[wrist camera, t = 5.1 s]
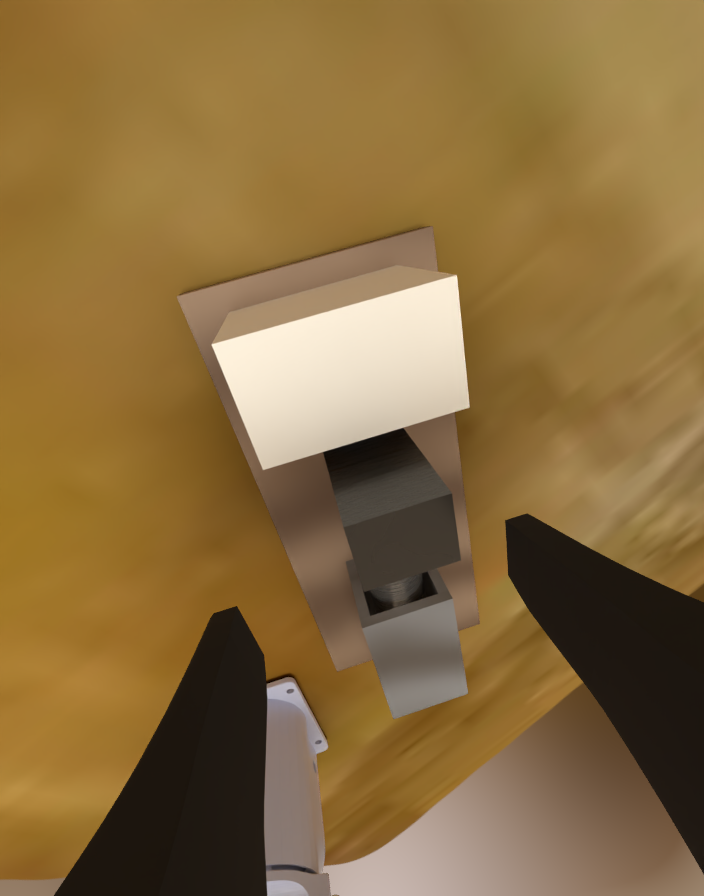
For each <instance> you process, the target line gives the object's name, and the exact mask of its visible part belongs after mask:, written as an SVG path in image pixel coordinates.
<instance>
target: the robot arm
mask: <svg viewBox="0 0 704 896" xmlns="http://www.w3.org/2000/svg"><path fill="white" fill-rule="evenodd" d="M505 523H506V541H507V559H508V575H509V577H510V579H511V581H512V582H513V584H514V586H515V588H516V589H517V591H518V593H519V595H520V596H521V598H522V599H523V601H524V603H525V604H526V606H527V608H528V609H529V611H530V612H531V614H532V615H533V616H534V618H535V619H536V620H537V622H538V623H539V624H540V626H541V627H542V628H543V630H544V631H545V632H546V634H547V635H548V636H549V638H550V639H551V640H552V642H553V643H554V644H555V646H556V647H557V648H558V649H559V651H560V652H561V653H562V655H563V656H564V657H565V659H566V660H567V661H568V663H569V664H570V665H571V667H572V668H573V669H574V670H575V672H576V673H577V674H578V676H579V677H580V678H581V680H582V681H583V682H584V684H585V685H586V686H587V688H588V689H589V690H590V692H591V693H592V694H593V696H594V697H595V699H596V700H597V701H598V703H599V704H600V706H601V707H602V708H603V710H604V711H605V713H606V714H607V716H608V717H609V719H610V721H611V722H612V724H613V725H614V727H615V728H616V730H617V731H618V733H619V735H620V736H621V738H622V739H623V741H624V742H625V744H626V746H627V747H628V749H629V750H630V752H631V754H632V755H633V756H634V758H635V760H636V761H637V763H638V765H639V766H640V768H641V770H642V771H643V773H644V775H645V776H646V778H647V779H648V781H649V783H650V784H651V786H652V788H653V789H654V791H655V792H656V794H657V796H658V797H659V799H660V801H661V802H662V804H663V805H664V807H665V809H666V811H667V812H668V814H669V816H670V817H671V819H672V821H673V822H674V824H675V826H676V828H677V829H678V831H679V833H680V834H681V836H682V838H683V839H684V841H685V843H686V844H687V846H688V848H689V849H690V851H691V853H692V855H693V856H694V858H695V860H696V861H697V863H698V865H699V867H700V868H701V870H702V872H703V873H704V602H701V601H699V600H697V599H694V598H692V597H689V596H687V595H685V594H682V593H680V592H678V591H675V590H673V589H671V588H669V587H667V586H664V585H662V584H660V583H658V582H656V581H654V580H652V579H650V578H647V577H645V576H643V575H641V574H639V573H637V572H635V571H633V570H631V569H629V568H627V567H625V566H623V565H621V564H619V563H617V562H615V561H613V560H611V559H609V558H607V557H605V556H603V555H601V554H600V553H598V552H596V551H594V550H592V549H590V548H588V547H586V546H585V545H583V544H581V543H579V542H577V541H576V540H574V539H572V538H570V537H568V536H567V535H565V534H563V533H561V532H559V531H558V530H556V529H554V528H552V527H551V526H549V525H547V524H545V523H543V522H542V521H540V520H538V519H536V518H535V517H533V516H531V515H529V514H524V515H521V516H518V517H514V518H511V519H508V520H505ZM327 748H328V742H327V740H326V738H325V736H324V734H323V732H322V730H321V728H320V726H319V725H318V723H317V721H316V719H315V717H314V715H313V713H312V711H311V709H310V707H309V706H308V704H307V702H306V700H305V698H304V696H303V694H302V692H301V690H300V688H299V687H298V685H297V683H296V681H295V679H294V678H292V677H286V678H283V679H280V680H277V681H274V682H271V683H268V684H266V672H265V661H264V654H263V653H262V651H261V649H260V647H259V645H258V644H257V642H256V640H255V638H254V636H253V634H252V633H251V631H250V629H249V627H248V625H247V624H246V622H245V620H244V618H243V616H242V615H241V613H240V611H239V609H238V607H237V606H236V607H232V608H229V609H226V610H223V611H220V612H217V613H214V614H213V615H212V617H211V618H210V620H209V623H208V625H207V627H206V629H205V631H204V633H203V636H202V638H201V640H200V642H199V644H198V647H197V649H196V651H195V653H194V655H193V657H192V659H191V662H190V664H189V666H188V668H187V670H186V672H185V674H184V676H183V678H182V680H181V682H180V684H179V686H178V689H177V691H176V693H175V695H174V697H173V699H172V701H171V703H170V705H169V707H168V709H167V711H166V713H165V715H164V716H163V718H162V720H161V722H160V724H159V726H158V728H157V729H156V731H155V733H154V735H153V737H152V739H151V741H150V742H149V744H148V746H147V748H146V750H145V752H144V754H143V755H142V757H141V759H140V761H139V763H138V764H137V766H136V768H135V769H134V771H133V773H132V775H131V776H130V778H129V780H128V782H127V783H126V785H125V787H124V788H123V790H122V792H121V793H120V795H119V797H118V798H117V800H116V801H115V803H114V805H113V806H112V808H111V810H110V811H109V813H108V814H107V816H106V818H105V819H104V821H103V822H102V824H101V826H100V827H99V829H98V830H97V832H96V833H95V835H94V836H93V838H92V839H91V841H90V842H89V844H88V845H87V847H86V848H85V850H84V851H83V853H82V855H81V856H80V858H79V859H78V861H77V862H76V864H75V865H74V867H73V868H72V870H71V871H70V873H69V874H68V875H67V877H66V878H65V880H64V881H63V883H62V884H61V886H60V887H59V889H58V890H57V892H56V893H55V895H54V896H331V893H330V884H329V874H328V873H323V874H322V871H323V866H324V860H325V838H324V828H323V818H322V807H321V797H320V787H319V777H318V766H317V756H316V754H318V753H320V752H323V751H325V750H327ZM333 896H339V895H333Z"/></svg>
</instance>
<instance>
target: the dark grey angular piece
mask: <svg viewBox="0 0 704 896" xmlns="http://www.w3.org/2000/svg"><path fill="white" fill-rule="evenodd" d="M323 454H324V458H325V461H326V465H327V469H328V472H329V476H330V480H331V484H332V487H333V491H334V495H335V498H336V502H337V506H338V509H339V513H340V517H341V520H342V524H343V528H344V531H345V534H346V537H347V540H348V543H349V547H350V550H351V553H352V556H353V559H354V562H355V565H356V568H357V572H358V575H359V578H360V581H361V584H362V587H363V590H364V592H366V591H370V594H371V598H372V601H373V604H374V607H375V611H376V614H378V613H381V612H384V611H387V610H390V609H393V608H397V607H400V606H403V605H406V604H409V603H412V602H415V601H418V600H421V599H424V598H427V597H426V592H425V587H424V582H423V578H422V573H424V572H427V571H430V570H433V569H436V568H439V567H443V566H446V565H449V564H452V563H455V562H458V561H461V555H460V548H459V541H458V533H457V526H456V519H455V512H454V504H453V497H452V493H451V491H450V490H449V489H448V487H447V486H446V484H445V483H444V482H443V480H442V479H441V478H440V476H439V475H438V474H437V472H436V471H435V470H434V468H433V467H432V466H431V464H430V463H429V462H428V460H427V459H426V458H425V456H424V455H423V453H422V452H421V451H420V449H419V448H418V447H417V445H416V444H415V443H414V441H413V440H412V439H411V437H410V436H409V435H408V433H407V432H406V431H405V429H404V428H400V429H397V430H394V431H390V432H387V433H384V434H381V435H377V436H374V437H371V438H367V439H364V440H361V441H357V442H354V443H351V444H348V445H344V446H341V447H338V448H334V449H331V450H328V451H324V452H323Z"/></svg>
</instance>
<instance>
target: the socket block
mask: <svg viewBox="0 0 704 896" xmlns="http://www.w3.org/2000/svg"><path fill="white" fill-rule="evenodd" d="M212 347H213V349H214V352H215V354H216V357H217V359H218V362H219V364H220V366H221V369H222V371H223V374H224V376H225V379H226V381H227V383H228V386H229V388H230V391H231V393H232V396H233V398H234V401H235V403H236V405H237V408H238V410H239V413H240V415H241V418H242V420H243V422H244V425H245V427H246V430H247V432H248V435H249V437H250V439H251V442H252V444H253V447H254V449H255V452H256V454H257V457H258V459H259V461H260V464H261V466H262V469H263V470H265V469H268V468H272V467H275V466H278V465H282V464H285V463H288V462H292V461H295V460H298V459H301V458H305V457H308V456H311V455H315V454H318V453H321V452H324V451H328V450H331V449H334V448H338V447H341V446H344V445H348V444H351V443H354V442H357V441H361V440H364V439H367V438H371V437H374V436H377V435H381V434H384V433H387V432H390V431H394V430H397V429H400V428H404V427H407V426H410V425H413V424H417V423H420V422H423V421H427V420H430V419H433V418H437V417H440V416H443V415H446V414H450V413H453V412H456V411H460V410H463V409H466V408H470V405H469V395H468V384H467V374H466V364H465V354H464V344H463V333H462V323H461V313H460V303H459V292H458V282H457V275H454V274H448V273H442V272H436V271H430V270H424V269H418V268H412V267H406V266H400V265H396V266H392V267H389V268H385V269H382V270H378V271H375V272H371V273H367V274H364V275H360V276H357V277H353V278H349V279H346V280H342V281H339V282H335V283H332V284H328V285H324V286H321V287H317V288H314V289H310V290H307V291H303V292H299V293H296V294H292V295H289V296H285V297H281V298H278V299H274V300H271V301H267V302H264V303H260V304H256V305H253V306H249V307H246V308H242V309H239V310H235V311H231V312H229V313H228V315H227V317H226V319H225V321H224V322H223V324H222V326H221V328H220V330H219V332H218V333H217V335H216V337H215V339H214V341H213V343H212Z"/></svg>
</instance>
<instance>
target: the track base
mask: <svg viewBox="0 0 704 896" xmlns="http://www.w3.org/2000/svg"><path fill="white" fill-rule="evenodd" d="M396 265H400V266H406V267H412V268H418V269H424V270H430V271H436V272H438V268H437V259H436V251H435V242H434V234H433V226H429V227H422V228H418V229H415V230H411V231H408V232H404V233H400V234H397V235H393V236H389V237H386V238H382V239H378V240H375V241H371V242H367V243H364V244H360V245H357V246H353V247H349V248H346V249H342V250H338V251H335V252H331V253H327V254H324V255H320V256H317V257H313V258H309V259H306V260H302V261H298V262H295V263H291V264H287V265H284V266H280V267H277V268H273V269H269V270H266V271H262V272H258V273H255V274H251V275H247V276H244V277H240V278H237V279H233V280H229V281H226V282H222V283H218V284H215V285H211V286H207V287H204V288H200V289H197V290H193V291H189V292H186V293H182V294H180V295H178V296H177V299H178V301H179V303H180V306H181V308H182V310H183V313H184V315H185V317H186V320H187V322H188V324H189V327H190V329H191V331H192V334H193V336H194V338H195V341H196V343H197V345H198V348H199V350H200V352H201V355H202V357H203V359H204V362H205V364H206V366H207V369H208V371H209V373H210V376H211V378H212V380H213V383H214V385H215V387H216V390H217V392H218V394H219V397H220V399H221V401H222V404H223V406H224V408H225V411H226V413H227V415H228V418H229V420H230V422H231V425H232V427H233V429H234V432H235V434H236V436H237V439H238V441H239V443H240V446H241V448H242V450H243V453H244V455H245V457H246V460H247V462H248V464H249V467H250V469H251V471H252V474H253V476H254V478H255V481H256V483H257V485H258V488H259V490H260V492H261V495H262V497H263V499H264V502H265V504H266V506H267V509H268V511H269V513H270V516H271V518H272V520H273V523H274V525H275V527H276V530H277V532H278V534H279V537H280V539H281V541H282V544H283V546H284V548H285V551H286V553H287V555H288V558H289V560H290V562H291V565H292V567H293V569H294V572H295V574H296V576H297V579H298V581H299V583H300V586H301V588H302V590H303V593H304V595H305V597H306V600H307V602H308V604H309V607H310V609H311V611H312V614H313V616H314V618H315V621H316V623H317V625H318V628H319V630H320V632H321V635H322V637H323V639H324V642H325V644H326V646H327V649H328V651H329V653H330V656H331V658H332V660H333V663H334V665H335V667H336V670H337V672H338V671H341V670H343V669H346V668H349V667H352V666H355V665H358V664H361V663H364V662H367V661H370V660H373V661H374V664H375V667H376V670H377V673H378V676H379V679H380V682H381V684H382V687H383V690H384V693H385V696H386V699H387V702H388V705H389V708H390V710H391V713H392V716H393V719H396V718H399V717H402V716H405V715H407V714H410V713H413V712H416V711H419V710H422V709H425V708H428V707H431V706H434V705H436V704H439V703H442V702H445V701H448V700H451V699H454V698H457V697H460V696H462V695H465V694H468V689H467V683H466V677H465V671H464V665H463V658H462V652H461V646H460V640H459V634H458V631H460V630H463V629H466V628H469V627H472V626H474V625H477V624H480V621H479V613H478V605H477V596H476V588H475V579H474V571H473V562H472V554H471V546H470V537H469V529H468V520H467V512H466V503H465V495H464V487H463V478H462V470H461V461H460V453H459V445H458V436H457V428H456V419H455V412H453V413H450V414H446V415H443V416H440V417H437V418H433V419H430V420H427V421H423V422H420V423H417V424H413V425H410V426H407V427H404V429H405V431H406V432H407V433H408V435H409V436H410V437H411V439H412V440H413V441H414V443H415V444H416V445H417V447H418V448H419V449H420V451H421V452H422V453H423V455H424V456H425V458H426V459H427V460H428V462H429V463H430V464H431V466H432V467H433V468H434V470H435V471H436V472H437V474H438V475H439V476H440V478H441V479H442V480H443V482H444V483H445V484H446V486H447V487H448V489H449V490H450V491H451V493H452V497H453V504H454V512H455V519H456V526H457V533H458V541H459V548H460V555H461V561H458V562H455V563H452V564H449V565H446V566H443V567H439V568H436V569H433V570H430V571H427V572H424V573H422V578H423V582H424V587H425V592H426V597H427V598H424V599H421V600H418V601H415V602H412V603H409V604H406V605H403V606H400V607H397V608H393V609H390V610H387V611H384V612H381V613H378V614H376V611H375V607H374V604H373V601H372V598H371V594H370V591H366V592H364V590H363V587H362V584H361V581H360V578H359V575H358V572H357V568H356V565H355V562H354V559H353V556H352V553H351V550H350V547H349V543H348V540H347V537H346V534H345V531H344V528H343V524H342V520H341V517H340V513H339V509H338V506H337V502H336V498H335V495H334V491H333V487H332V484H331V480H330V476H329V472H328V469H327V465H326V461H325V458H324V454H323V452H321V453H318V454H315V455H311V456H308V457H305V458H301V459H298V460H295V461H292V462H288V463H285V464H282V465H278V466H275V467H272V468H268V469H265V470H263V469H262V466H261V464H260V461H259V459H258V457H257V454H256V452H255V449H254V447H253V444H252V442H251V439H250V437H249V435H248V432H247V430H246V427H245V425H244V422H243V420H242V418H241V415H240V413H239V410H238V408H237V405H236V403H235V401H234V398H233V396H232V393H231V391H230V388H229V386H228V383H227V381H226V379H225V376H224V374H223V371H222V369H221V366H220V364H219V362H218V359H217V357H216V354H215V352H214V349H213V347H212V343H213V341H214V339H215V337H216V335H217V333H218V332H219V330H220V328H221V326H222V324H223V322H224V321H225V319H226V317H227V315H228V313H229V312H231V311H235V310H239V309H242V308H246V307H249V306H253V305H256V304H260V303H264V302H267V301H271V300H274V299H278V298H281V297H285V296H289V295H292V294H296V293H299V292H303V291H307V290H310V289H314V288H317V287H321V286H324V285H328V284H332V283H335V282H339V281H342V280H346V279H349V278H353V277H357V276H360V275H364V274H367V273H371V272H375V271H378V270H382V269H385V268H389V267H392V266H396Z"/></svg>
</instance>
